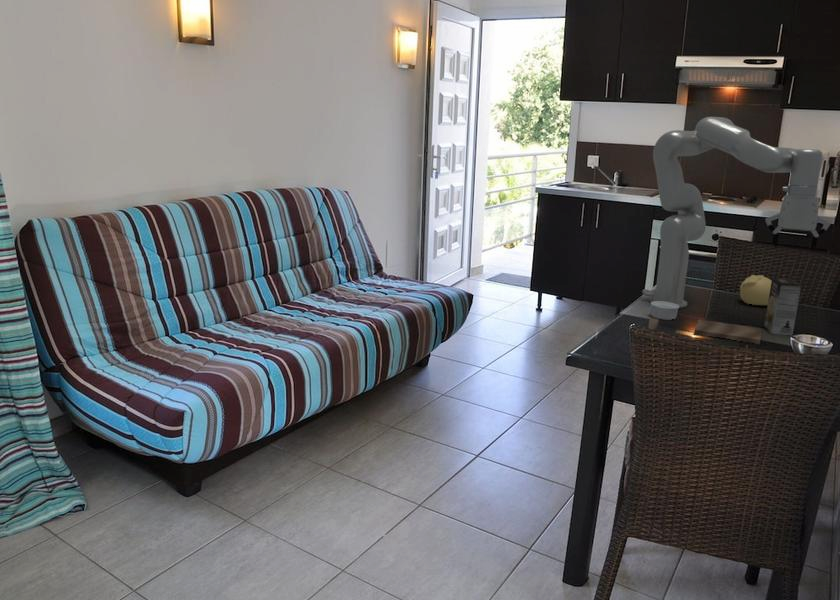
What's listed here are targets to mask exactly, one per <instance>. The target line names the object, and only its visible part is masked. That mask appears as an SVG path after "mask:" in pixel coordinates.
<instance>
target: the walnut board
mask: <svg viewBox="0 0 840 600" xmlns="http://www.w3.org/2000/svg"><path fill="white" fill-rule="evenodd" d="M693 335H694V336H699V335H700V337H706V336H713V337H721V338H726V339H731V340H730V341H732V340H737V341H736V342H739V341H743V342H742V343H746V342H749V343H748V344H752V343H754V344H753V345H759V346H760V344H761V338H762V337H761V336H762V328H761V327H753V326H747V325H740V324H733V323H725V322H719V321H711V320H704V319H698V320H697V323H696V326H695V328H694V331H693ZM713 337H712V338H713ZM726 339H725V340H726Z"/></svg>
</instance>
